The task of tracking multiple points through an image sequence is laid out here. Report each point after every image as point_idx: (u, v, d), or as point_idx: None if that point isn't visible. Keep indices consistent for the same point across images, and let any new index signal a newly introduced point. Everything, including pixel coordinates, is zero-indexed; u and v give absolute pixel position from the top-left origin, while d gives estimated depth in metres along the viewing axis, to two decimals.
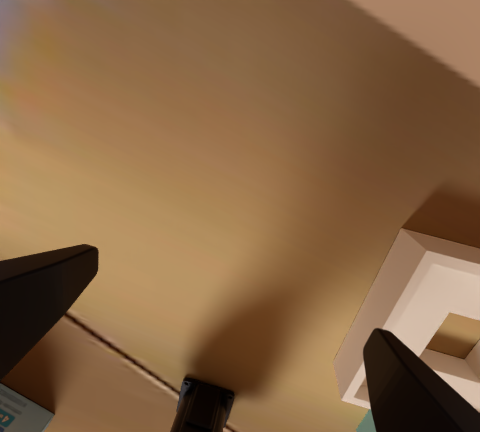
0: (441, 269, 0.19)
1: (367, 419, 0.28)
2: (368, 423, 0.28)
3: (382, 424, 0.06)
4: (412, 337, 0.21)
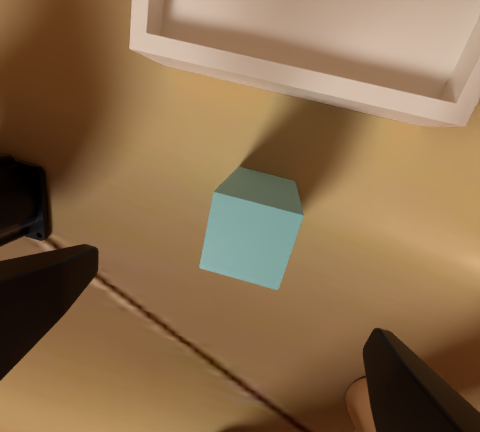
0: None
1: None
2: None
3: (382, 424, 0.06)
4: None
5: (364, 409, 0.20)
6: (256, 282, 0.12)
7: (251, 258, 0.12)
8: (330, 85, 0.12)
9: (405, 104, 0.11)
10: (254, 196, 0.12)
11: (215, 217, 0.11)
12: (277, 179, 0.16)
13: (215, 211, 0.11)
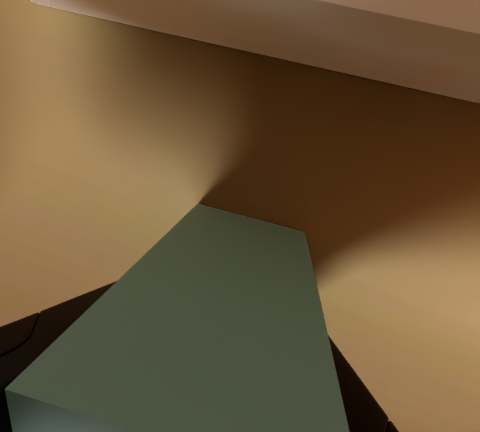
0: None
1: None
2: None
3: None
4: None
5: None
6: None
7: None
8: None
9: None
10: (182, 366, 0.03)
11: None
12: (270, 234, 0.08)
13: None
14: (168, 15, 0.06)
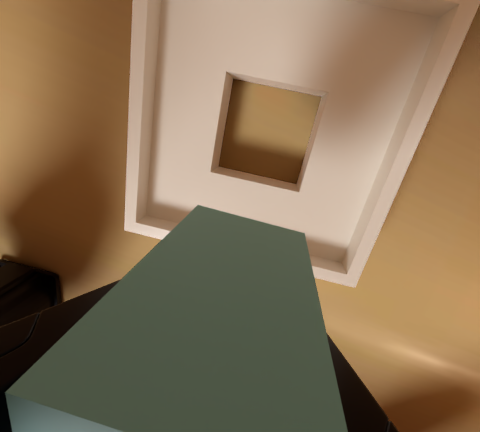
0: None
1: None
2: None
3: None
4: (195, 125, 0.16)
5: None
6: None
7: None
8: None
9: (314, 273, 0.17)
10: (182, 368, 0.04)
11: None
12: (269, 236, 0.08)
13: None
14: None
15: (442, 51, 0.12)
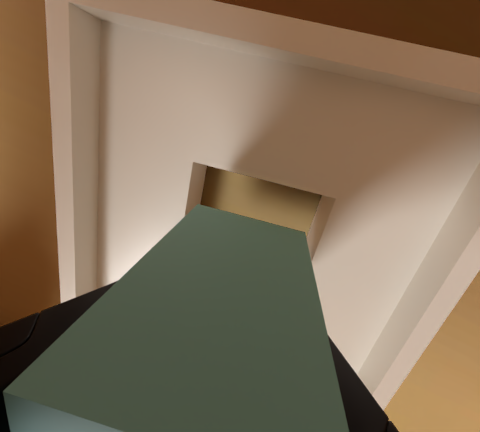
0: (147, 58, 0.09)
1: None
2: None
3: None
4: (154, 223, 0.12)
5: None
6: None
7: None
8: None
9: None
10: (181, 367, 0.03)
11: None
12: (270, 235, 0.08)
13: None
14: None
15: None
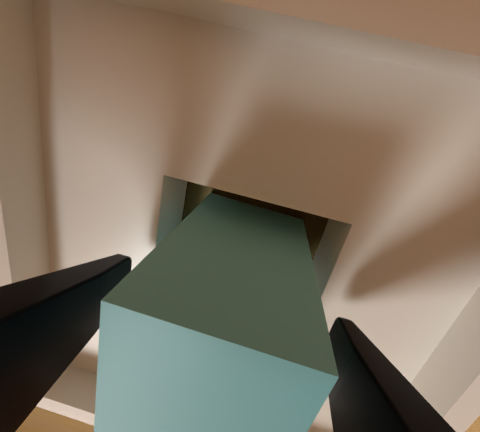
0: (96, 36, 0.07)
1: None
2: None
3: (336, 410, 0.06)
4: (118, 251, 0.09)
5: None
6: None
7: None
8: None
9: None
10: (214, 298, 0.05)
11: (113, 355, 0.05)
12: (273, 220, 0.10)
13: (111, 343, 0.04)
14: None
15: None
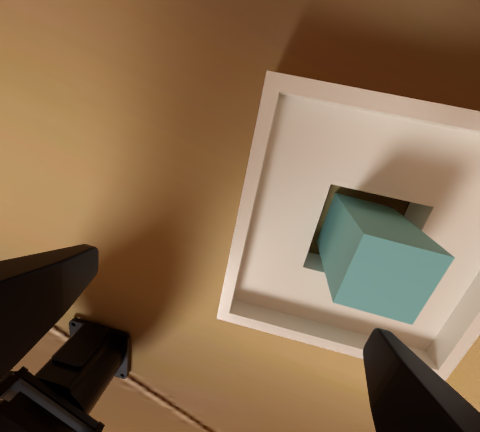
0: (308, 118, 0.14)
1: (330, 209, 0.18)
2: (331, 211, 0.17)
3: (382, 424, 0.06)
4: (293, 227, 0.17)
5: None
6: (391, 317, 0.13)
7: (390, 295, 0.12)
8: (354, 352, 0.17)
9: None
10: (394, 235, 0.12)
11: (360, 257, 0.12)
12: (379, 207, 0.17)
13: (361, 251, 0.12)
14: None
15: None
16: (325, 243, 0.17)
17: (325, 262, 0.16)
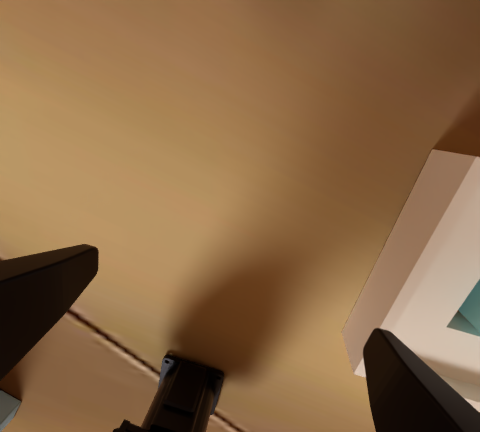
0: None
1: None
2: None
3: (382, 424, 0.06)
4: (446, 290, 0.17)
5: None
6: None
7: None
8: None
9: None
10: None
11: None
12: None
13: None
14: None
15: None
16: (472, 305, 0.17)
17: None
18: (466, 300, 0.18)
